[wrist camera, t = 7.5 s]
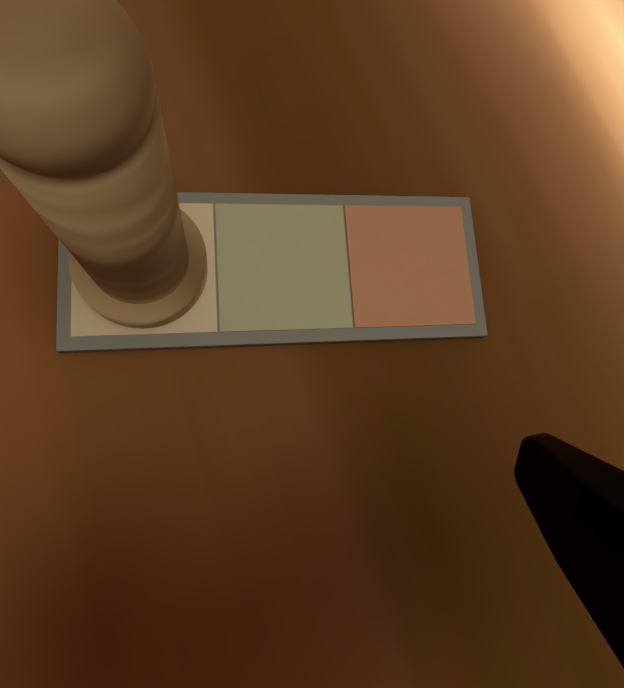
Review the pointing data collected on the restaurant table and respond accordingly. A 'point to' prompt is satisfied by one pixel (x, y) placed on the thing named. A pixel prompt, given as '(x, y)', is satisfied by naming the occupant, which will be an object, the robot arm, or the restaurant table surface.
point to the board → (308, 275)
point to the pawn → (97, 157)
